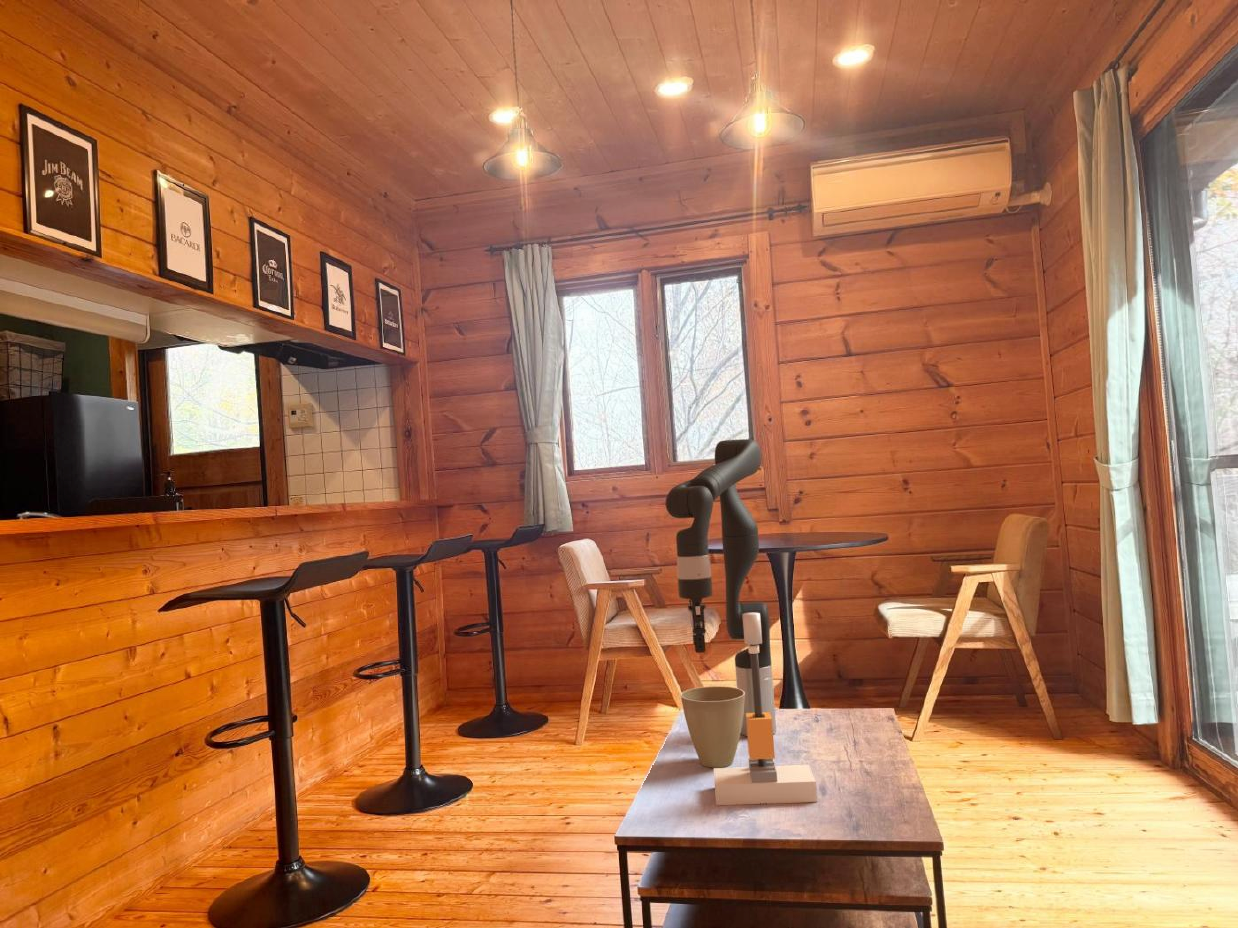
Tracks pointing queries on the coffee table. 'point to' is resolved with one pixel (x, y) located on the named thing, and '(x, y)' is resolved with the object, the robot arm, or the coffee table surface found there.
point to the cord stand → (762, 775)
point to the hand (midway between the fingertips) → (699, 648)
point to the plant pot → (714, 722)
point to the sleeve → (760, 736)
